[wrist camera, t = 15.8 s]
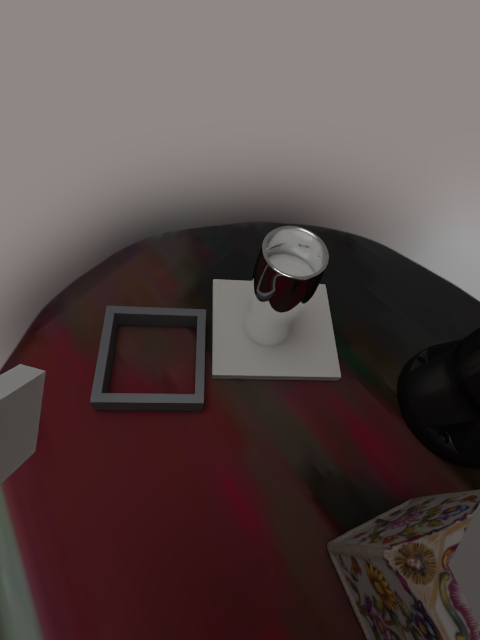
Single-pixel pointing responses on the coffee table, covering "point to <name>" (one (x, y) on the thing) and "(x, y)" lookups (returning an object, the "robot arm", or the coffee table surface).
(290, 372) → the board
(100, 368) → the holder
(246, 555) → the coffee table surface
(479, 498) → the decorative jar
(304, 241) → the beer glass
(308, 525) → the coffee table surface
